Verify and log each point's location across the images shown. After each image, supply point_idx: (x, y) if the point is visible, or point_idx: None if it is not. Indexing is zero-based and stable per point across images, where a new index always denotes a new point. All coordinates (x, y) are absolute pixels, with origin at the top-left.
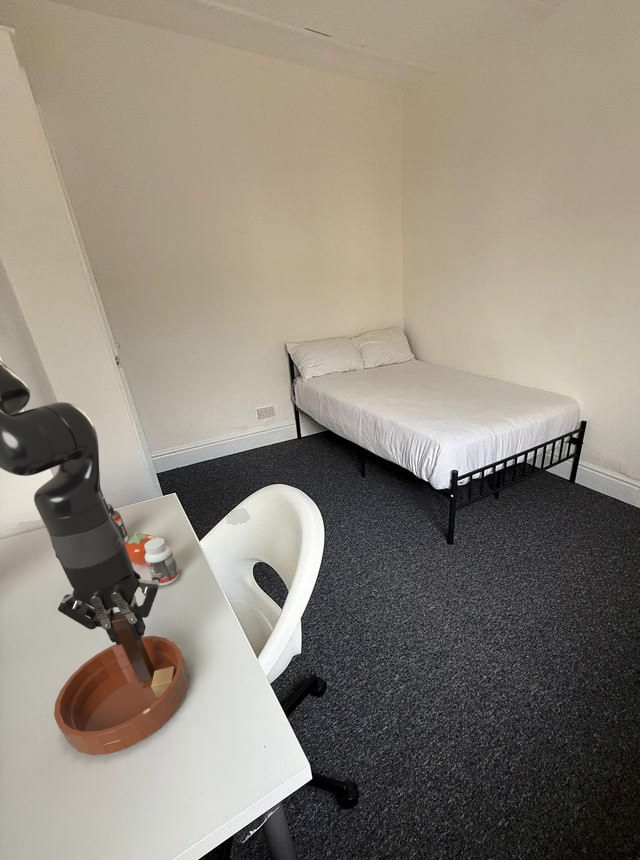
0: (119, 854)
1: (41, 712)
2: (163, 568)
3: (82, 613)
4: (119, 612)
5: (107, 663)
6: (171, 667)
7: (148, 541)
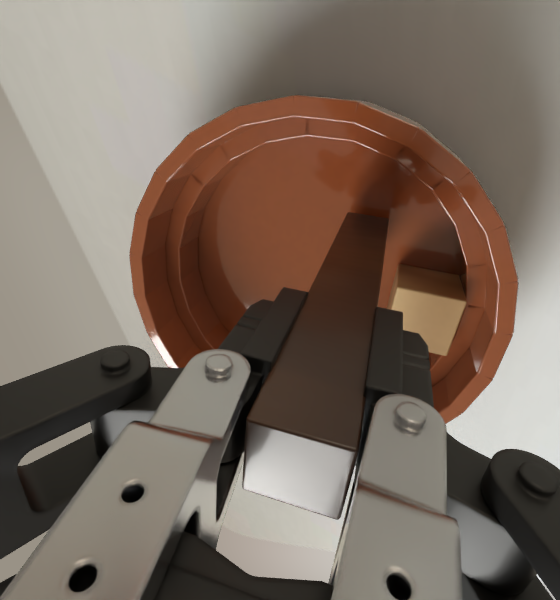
0: (319, 518)
1: (109, 191)
2: None
3: (5, 535)
4: (284, 442)
5: (234, 144)
6: (456, 305)
7: None
